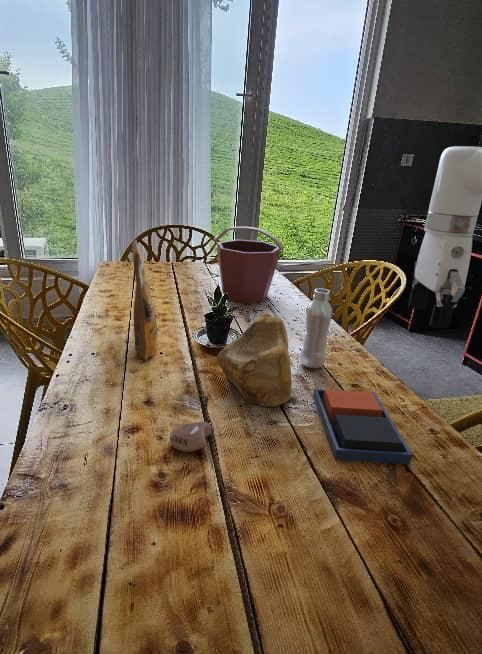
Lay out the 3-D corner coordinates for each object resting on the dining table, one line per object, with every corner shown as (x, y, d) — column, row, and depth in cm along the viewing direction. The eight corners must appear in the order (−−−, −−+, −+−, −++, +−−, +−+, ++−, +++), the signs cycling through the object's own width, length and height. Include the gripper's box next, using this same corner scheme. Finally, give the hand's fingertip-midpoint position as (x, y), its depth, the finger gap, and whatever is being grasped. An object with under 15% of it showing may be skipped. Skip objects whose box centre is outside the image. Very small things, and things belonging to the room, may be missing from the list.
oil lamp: (219, 459, 80) (210, 432, 87) (223, 440, 78) (214, 415, 85) (170, 457, 78) (165, 430, 85) (173, 438, 76) (168, 412, 83)
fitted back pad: (383, 432, 87) (387, 417, 85) (398, 459, 79) (402, 443, 78) (332, 429, 87) (335, 414, 86) (342, 455, 80) (345, 439, 78)
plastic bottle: (299, 369, 111) (309, 293, 104) (298, 358, 117) (307, 285, 110) (325, 372, 110) (337, 296, 103) (323, 360, 116) (334, 287, 109)
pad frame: (372, 402, 98) (374, 392, 97) (409, 466, 78) (412, 454, 78) (312, 398, 99) (314, 388, 98) (334, 461, 79) (336, 449, 78)
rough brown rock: (219, 362, 115) (217, 308, 109) (284, 362, 113) (286, 307, 107) (214, 415, 94) (211, 352, 88) (293, 416, 92) (296, 351, 86)
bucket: (200, 295, 163) (203, 226, 154) (231, 282, 180) (236, 219, 171) (259, 310, 150) (266, 236, 141) (287, 295, 167) (295, 228, 158)
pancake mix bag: (127, 363, 111) (124, 252, 100) (135, 333, 128) (133, 236, 118) (154, 363, 111) (154, 253, 101) (158, 333, 129) (158, 237, 118)
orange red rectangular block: (368, 406, 96) (371, 392, 94) (379, 425, 89) (382, 410, 88) (322, 403, 96) (324, 389, 95) (329, 421, 89) (331, 407, 88)
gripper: (501, 234, 68) (471, 337, 74) (448, 217, 84) (427, 303, 90) (451, 232, 68) (425, 334, 74) (408, 215, 84) (390, 301, 90)
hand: (426, 317), depth 82 cm, fingers open, 9 cm apart
